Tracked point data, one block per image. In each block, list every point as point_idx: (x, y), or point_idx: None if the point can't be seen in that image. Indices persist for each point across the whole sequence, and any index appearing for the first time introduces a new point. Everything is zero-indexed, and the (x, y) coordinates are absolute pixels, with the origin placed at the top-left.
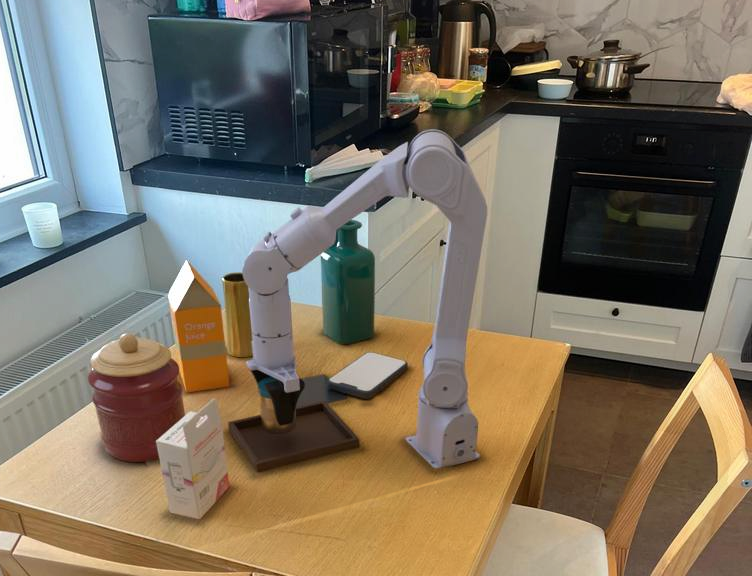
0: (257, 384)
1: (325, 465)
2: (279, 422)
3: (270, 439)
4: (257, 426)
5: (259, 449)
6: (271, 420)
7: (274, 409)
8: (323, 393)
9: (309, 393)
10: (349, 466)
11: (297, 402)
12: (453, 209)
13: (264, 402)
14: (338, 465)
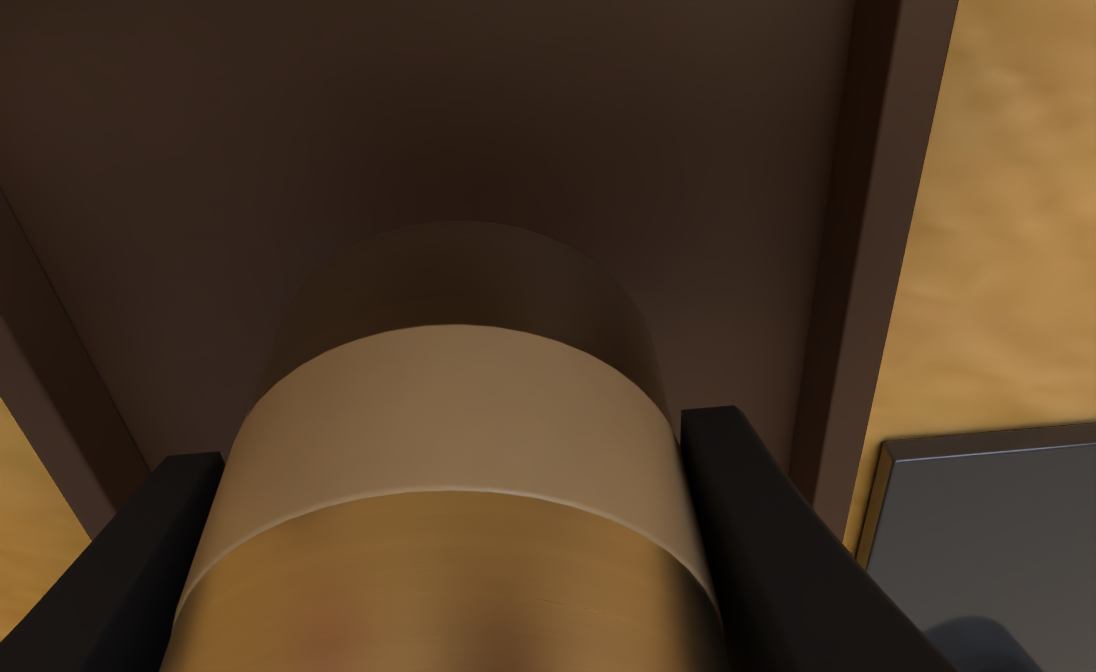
0: (935, 670)
1: (33, 467)
2: (133, 495)
3: (501, 204)
4: (813, 145)
5: (326, 51)
6: (251, 419)
7: (73, 643)
8: (978, 648)
9: (1044, 592)
10: (16, 574)
11: (984, 512)
12: None
13: (254, 610)
14: (31, 529)
